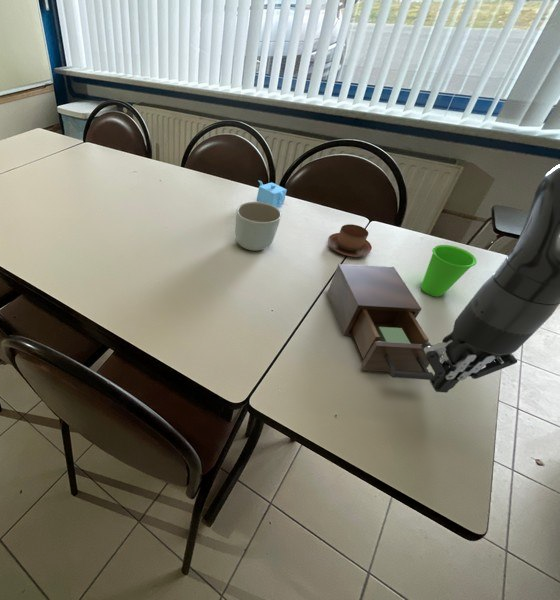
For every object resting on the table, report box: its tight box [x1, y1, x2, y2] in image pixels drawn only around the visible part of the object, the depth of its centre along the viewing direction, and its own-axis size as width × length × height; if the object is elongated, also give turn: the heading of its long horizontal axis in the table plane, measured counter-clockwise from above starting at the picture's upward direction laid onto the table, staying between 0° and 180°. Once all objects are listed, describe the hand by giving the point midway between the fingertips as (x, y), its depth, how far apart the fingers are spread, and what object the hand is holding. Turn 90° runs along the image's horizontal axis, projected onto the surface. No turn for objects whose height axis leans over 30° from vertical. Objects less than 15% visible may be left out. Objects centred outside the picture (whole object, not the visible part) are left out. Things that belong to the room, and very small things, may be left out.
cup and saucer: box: [327, 223, 373, 258], centre depth 107 cm, size 12×12×6 cm
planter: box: [234, 201, 282, 252], centre depth 107 cm, size 12×12×11 cm
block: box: [377, 327, 410, 343], centre depth 75 cm, size 5×5×5 cm
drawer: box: [351, 309, 435, 381], centre depth 75 cm, size 18×12×7 cm, turn 175°
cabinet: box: [326, 263, 422, 337], centre depth 84 cm, size 15×13×9 cm
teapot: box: [255, 180, 288, 208], centre depth 128 cm, size 12×6×8 cm, turn 33°
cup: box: [420, 244, 477, 297], centre depth 91 cm, size 9×9×11 cm
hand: (438, 387), depth 60 cm, fingers closed
